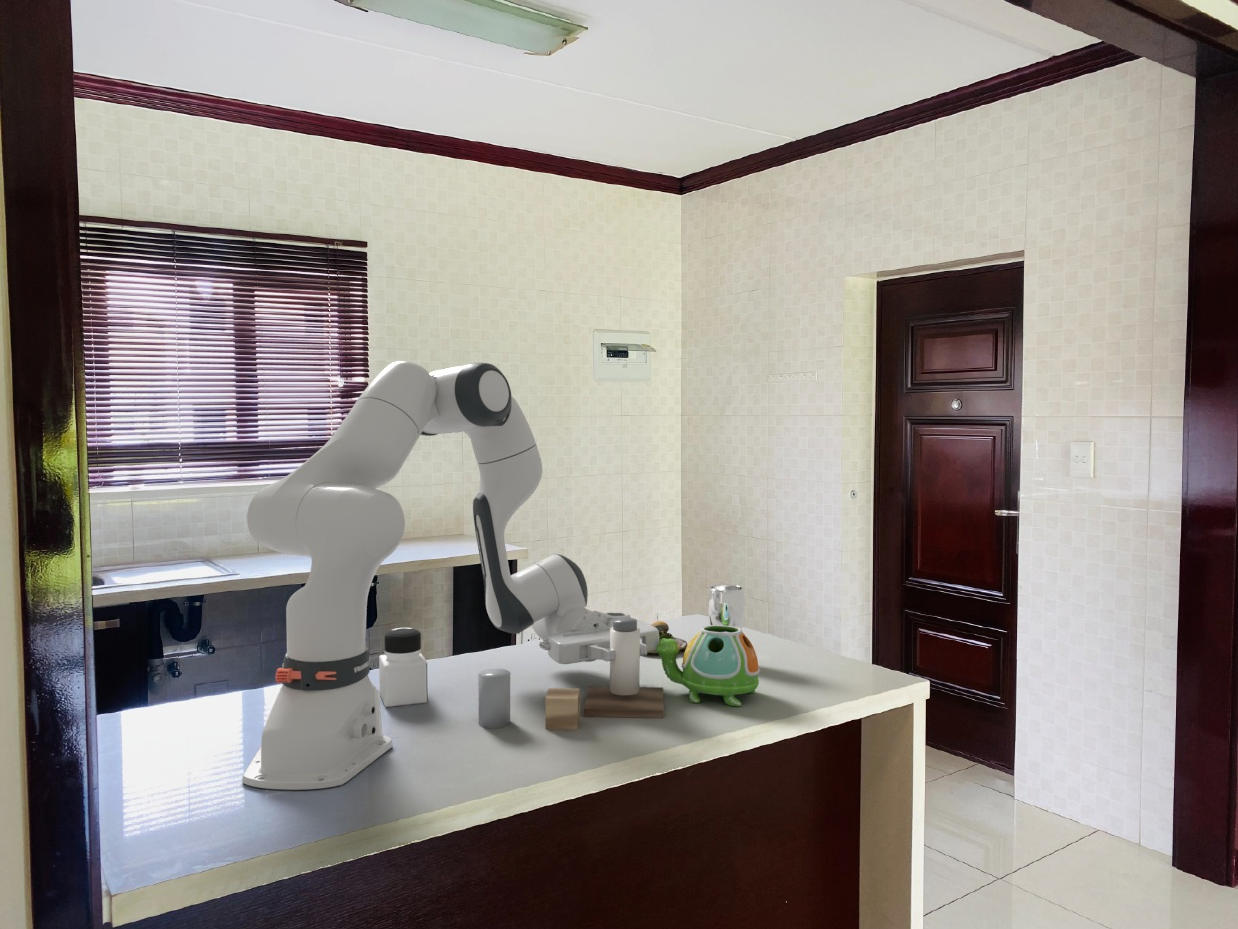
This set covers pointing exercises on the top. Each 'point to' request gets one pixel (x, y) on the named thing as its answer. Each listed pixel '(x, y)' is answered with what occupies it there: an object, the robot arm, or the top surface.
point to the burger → (667, 635)
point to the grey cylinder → (494, 698)
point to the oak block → (562, 709)
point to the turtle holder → (713, 663)
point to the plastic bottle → (625, 657)
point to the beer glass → (726, 605)
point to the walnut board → (624, 703)
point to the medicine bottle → (403, 669)
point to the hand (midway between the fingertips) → (627, 653)
